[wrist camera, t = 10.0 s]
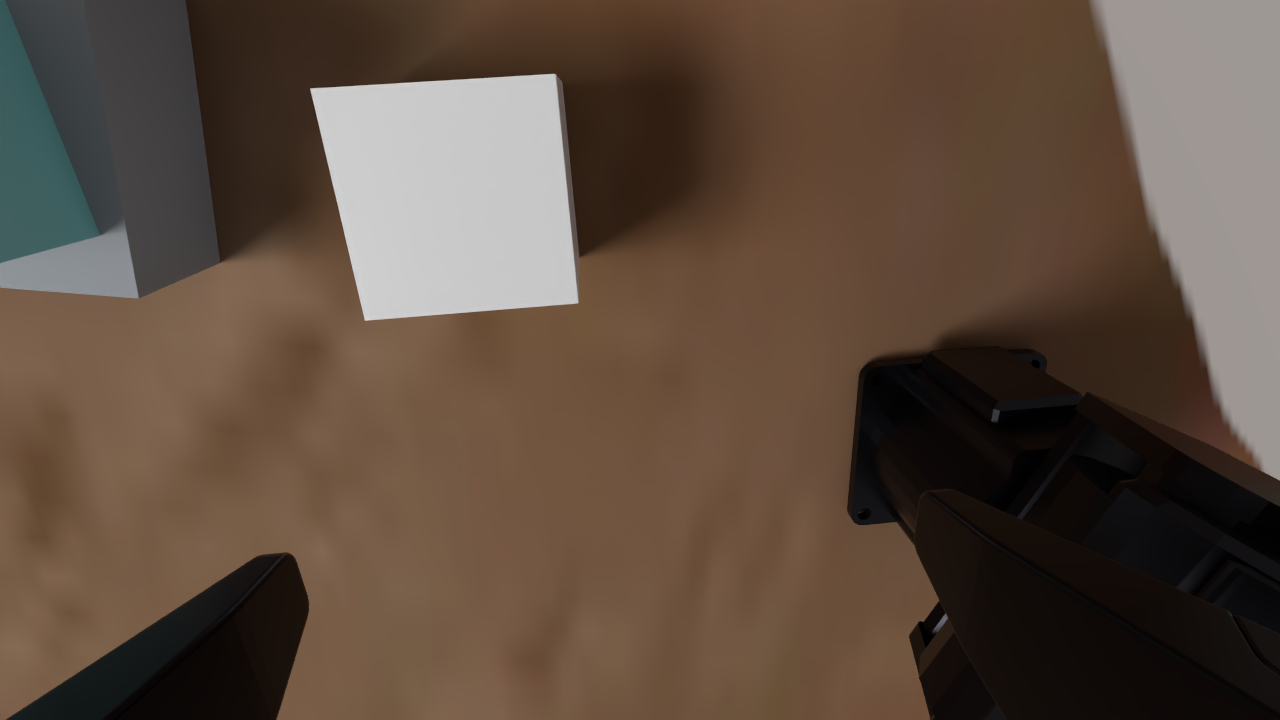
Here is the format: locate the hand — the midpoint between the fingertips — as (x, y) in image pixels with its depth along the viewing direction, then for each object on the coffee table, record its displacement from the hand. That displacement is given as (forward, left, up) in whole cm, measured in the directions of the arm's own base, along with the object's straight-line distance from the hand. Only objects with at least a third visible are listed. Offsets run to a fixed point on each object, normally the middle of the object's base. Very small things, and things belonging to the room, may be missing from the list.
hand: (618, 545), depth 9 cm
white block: (+4, +3, -12) cm, 13 cm away
